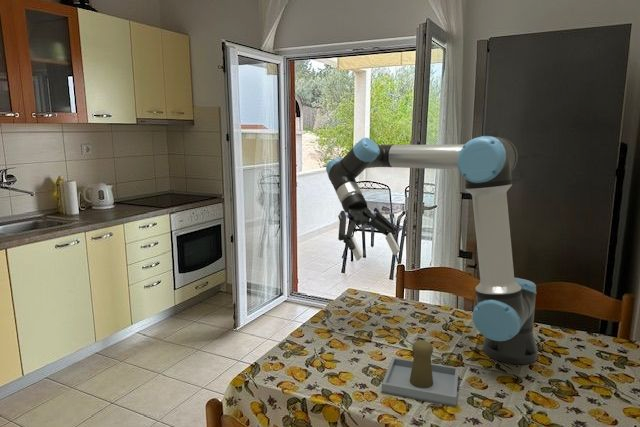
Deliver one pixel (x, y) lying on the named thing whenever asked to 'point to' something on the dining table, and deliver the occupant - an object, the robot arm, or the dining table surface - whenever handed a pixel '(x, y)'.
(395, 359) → the tray
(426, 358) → the cork
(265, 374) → the dining table surface
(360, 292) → the dining table surface
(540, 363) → the dining table surface
